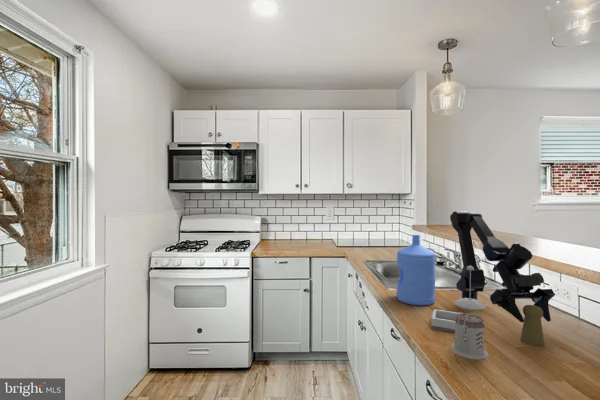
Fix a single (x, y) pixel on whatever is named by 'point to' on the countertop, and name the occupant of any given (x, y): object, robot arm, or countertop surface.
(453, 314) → the grey square open box
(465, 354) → the french press
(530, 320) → the cork
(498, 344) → the countertop surface
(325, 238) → the countertop surface
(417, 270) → the water jug
